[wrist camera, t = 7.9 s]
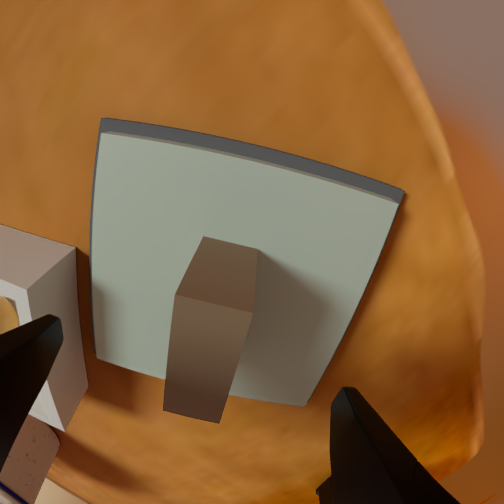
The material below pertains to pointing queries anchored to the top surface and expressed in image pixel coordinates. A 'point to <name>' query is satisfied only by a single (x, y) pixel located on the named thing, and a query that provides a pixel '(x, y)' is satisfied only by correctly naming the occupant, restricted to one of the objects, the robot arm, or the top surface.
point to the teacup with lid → (28, 462)
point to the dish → (40, 304)
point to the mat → (242, 150)
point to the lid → (225, 270)
